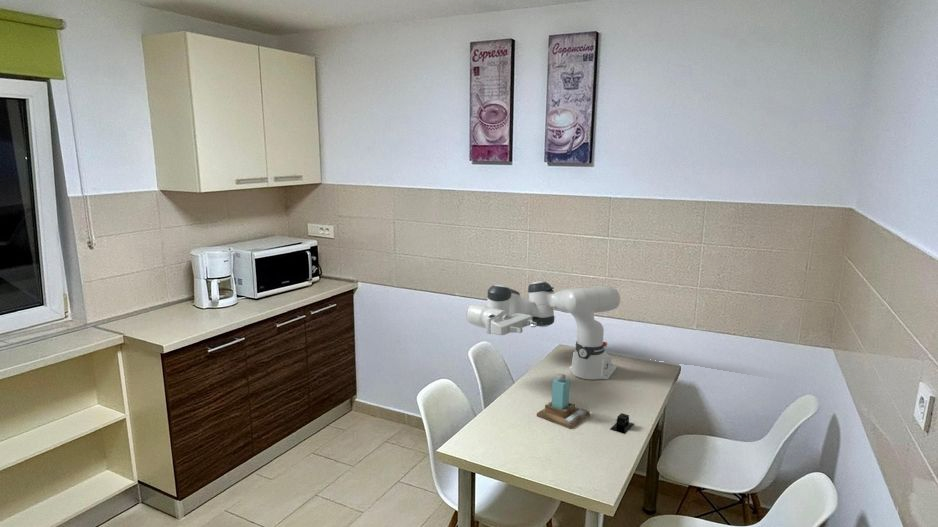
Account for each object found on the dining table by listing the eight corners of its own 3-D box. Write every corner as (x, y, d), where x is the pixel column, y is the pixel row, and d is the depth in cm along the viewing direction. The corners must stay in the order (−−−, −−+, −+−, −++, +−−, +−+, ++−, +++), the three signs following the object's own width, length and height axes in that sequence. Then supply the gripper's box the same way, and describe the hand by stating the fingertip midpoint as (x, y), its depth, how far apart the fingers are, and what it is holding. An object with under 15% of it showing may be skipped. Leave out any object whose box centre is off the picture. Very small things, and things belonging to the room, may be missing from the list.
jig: (557, 403, 209) (557, 394, 208) (589, 415, 200) (590, 405, 199) (536, 416, 198) (537, 406, 198) (569, 428, 189) (570, 418, 188)
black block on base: (625, 438, 184) (626, 425, 184) (605, 431, 189) (606, 419, 188) (638, 424, 194) (639, 412, 193) (619, 418, 198) (619, 406, 198)
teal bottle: (557, 407, 203) (559, 372, 200) (568, 411, 200) (570, 375, 197) (551, 411, 199) (552, 375, 197) (561, 415, 197) (563, 379, 194)
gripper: (515, 322, 223) (543, 329, 214) (483, 334, 208) (512, 342, 199) (515, 307, 222) (543, 314, 213) (483, 318, 207) (513, 325, 198)
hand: (528, 327), depth 206 cm, fingers open, 8 cm apart
